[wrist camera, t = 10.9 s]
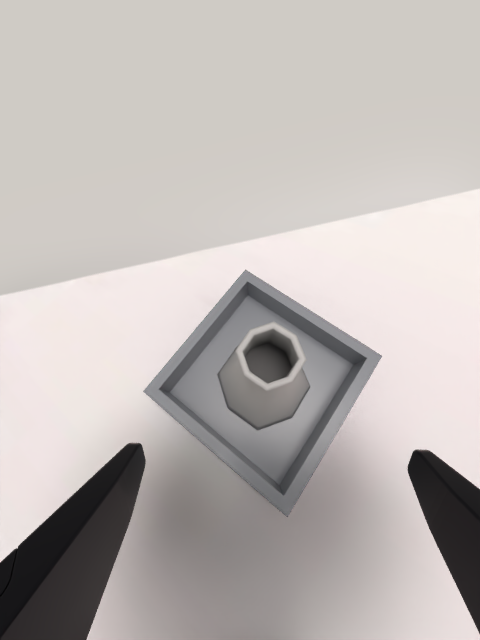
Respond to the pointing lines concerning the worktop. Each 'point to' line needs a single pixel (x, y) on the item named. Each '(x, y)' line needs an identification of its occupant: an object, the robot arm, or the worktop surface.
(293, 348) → the flask
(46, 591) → the robot arm
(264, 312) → the box
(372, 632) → the worktop surface
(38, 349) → the worktop surface
